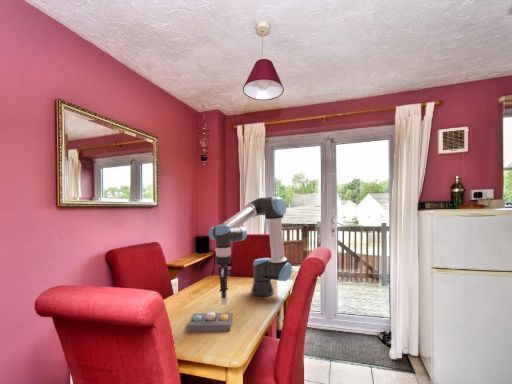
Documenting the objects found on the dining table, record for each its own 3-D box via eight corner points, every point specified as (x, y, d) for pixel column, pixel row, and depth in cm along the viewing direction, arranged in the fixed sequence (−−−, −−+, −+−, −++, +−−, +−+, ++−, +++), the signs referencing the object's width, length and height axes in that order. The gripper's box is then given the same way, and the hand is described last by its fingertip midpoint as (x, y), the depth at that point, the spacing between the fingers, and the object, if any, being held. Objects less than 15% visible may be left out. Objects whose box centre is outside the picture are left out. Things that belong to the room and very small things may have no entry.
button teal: (203, 320, 133) (203, 314, 134) (201, 324, 129) (201, 318, 129) (194, 320, 133) (194, 314, 134) (192, 324, 129) (192, 318, 129)
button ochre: (229, 319, 134) (228, 314, 134) (228, 323, 129) (228, 317, 129) (220, 320, 134) (220, 314, 134) (219, 323, 129) (219, 317, 129)
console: (232, 318, 138) (232, 312, 138) (230, 331, 124) (229, 324, 125) (193, 319, 138) (193, 313, 138) (187, 332, 124) (187, 325, 124)
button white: (216, 317, 134) (215, 311, 134) (214, 321, 129) (214, 315, 129) (207, 317, 134) (207, 312, 134) (205, 321, 129) (205, 315, 129)
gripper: (217, 253, 140) (218, 299, 138) (214, 258, 127) (214, 309, 125) (232, 253, 140) (232, 299, 139) (229, 257, 127) (230, 308, 126)
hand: (224, 303), depth 132 cm, fingers closed
